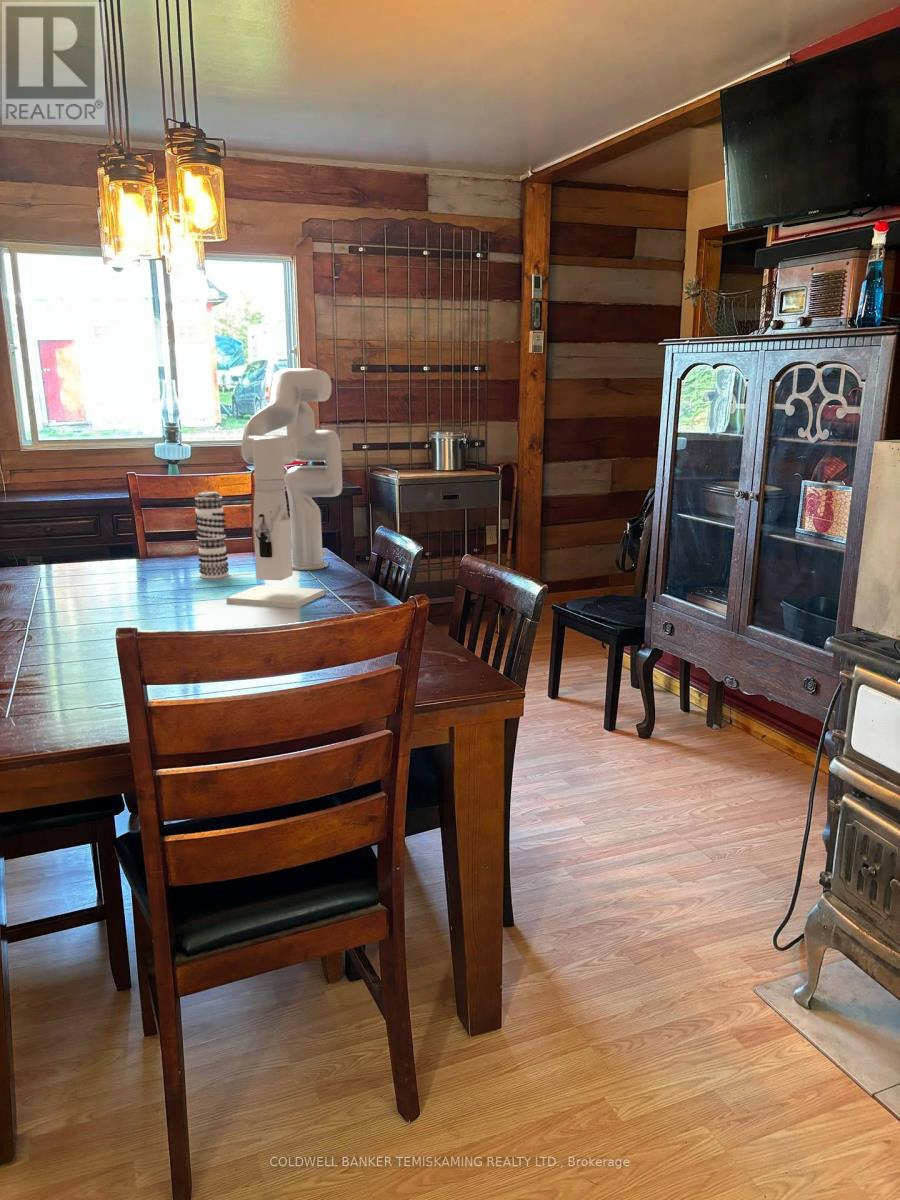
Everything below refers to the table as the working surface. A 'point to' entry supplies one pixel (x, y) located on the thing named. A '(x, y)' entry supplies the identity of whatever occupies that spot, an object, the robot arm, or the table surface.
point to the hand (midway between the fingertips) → (274, 554)
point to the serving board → (276, 596)
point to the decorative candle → (211, 535)
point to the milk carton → (276, 551)
